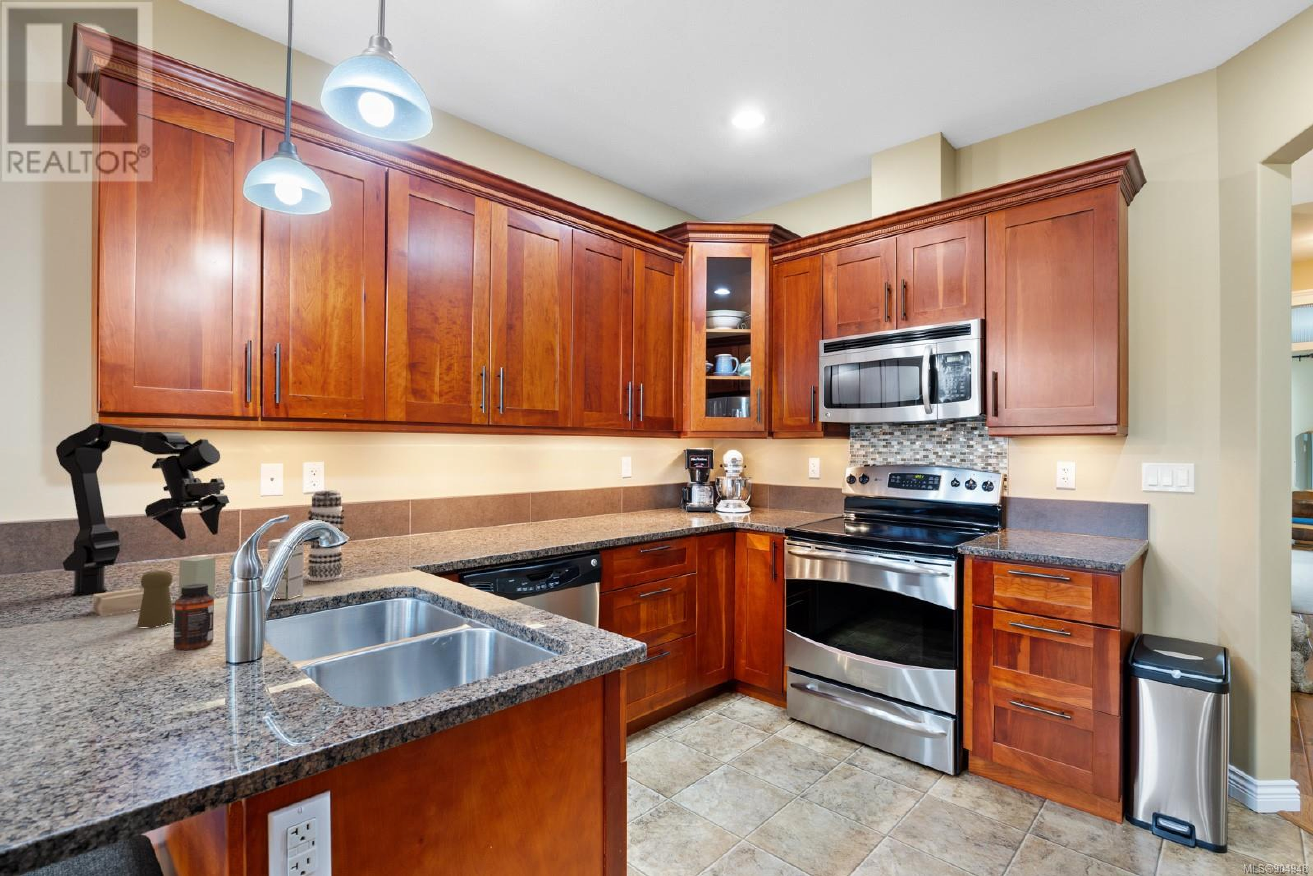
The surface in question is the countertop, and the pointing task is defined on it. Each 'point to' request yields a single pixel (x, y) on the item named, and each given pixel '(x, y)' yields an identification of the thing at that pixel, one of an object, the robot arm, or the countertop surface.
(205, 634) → the supplement bottle
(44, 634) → the countertop surface
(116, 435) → the robot arm
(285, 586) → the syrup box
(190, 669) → the countertop surface
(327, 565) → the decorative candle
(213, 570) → the sage block
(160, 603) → the cork
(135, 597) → the maple block
